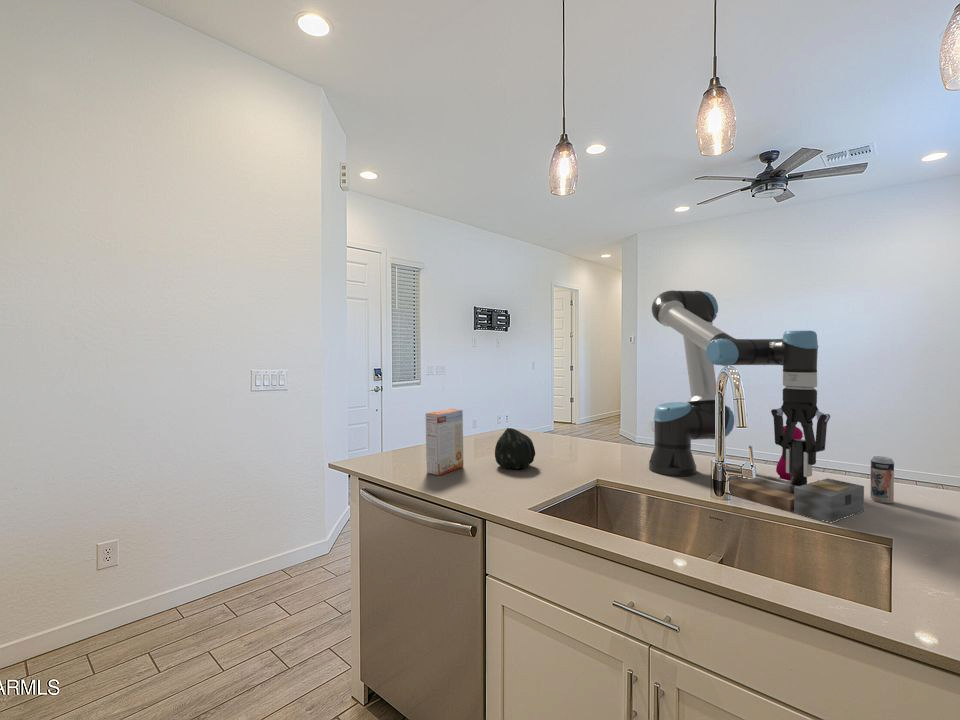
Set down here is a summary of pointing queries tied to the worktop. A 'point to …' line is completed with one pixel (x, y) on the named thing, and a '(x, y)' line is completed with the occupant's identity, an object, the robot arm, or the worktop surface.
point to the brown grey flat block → (803, 496)
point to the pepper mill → (782, 463)
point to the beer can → (882, 479)
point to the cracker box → (444, 441)
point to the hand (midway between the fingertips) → (798, 474)
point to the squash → (514, 450)
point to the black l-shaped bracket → (797, 463)
